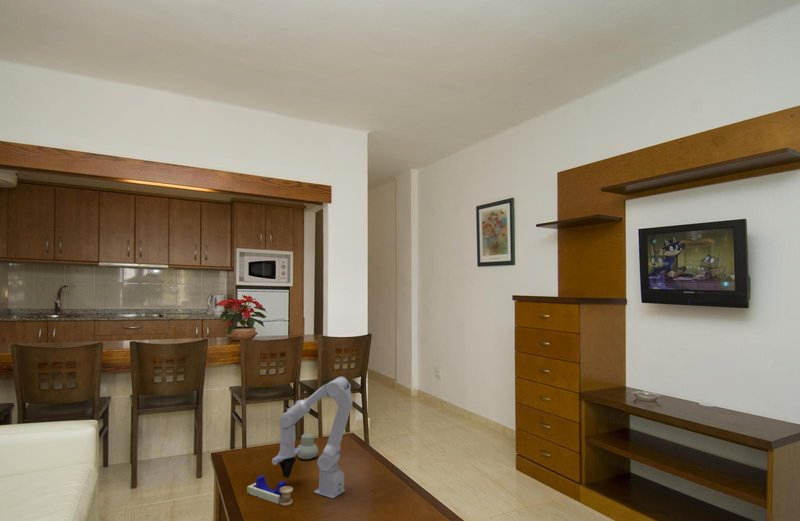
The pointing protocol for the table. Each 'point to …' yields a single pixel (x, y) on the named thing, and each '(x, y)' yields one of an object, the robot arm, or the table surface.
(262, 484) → the blue curved block
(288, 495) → the bobbin
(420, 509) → the table surface
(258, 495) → the notched fence
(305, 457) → the air freshener
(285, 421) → the robot arm
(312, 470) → the table surface
